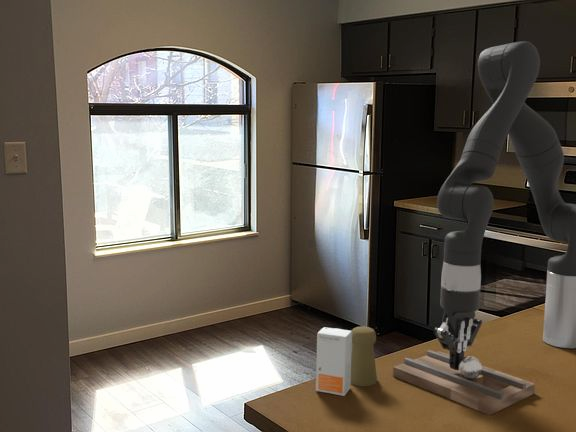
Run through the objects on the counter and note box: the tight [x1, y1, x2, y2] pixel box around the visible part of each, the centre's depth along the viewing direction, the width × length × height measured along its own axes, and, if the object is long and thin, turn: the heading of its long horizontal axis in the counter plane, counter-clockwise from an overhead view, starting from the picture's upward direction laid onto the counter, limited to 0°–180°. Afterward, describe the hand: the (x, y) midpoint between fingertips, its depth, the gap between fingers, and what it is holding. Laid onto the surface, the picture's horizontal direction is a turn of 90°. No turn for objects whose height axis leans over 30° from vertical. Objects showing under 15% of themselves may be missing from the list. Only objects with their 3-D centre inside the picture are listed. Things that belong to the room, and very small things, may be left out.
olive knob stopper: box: [351, 325, 378, 387], centre depth 132 cm, size 6×6×11 cm
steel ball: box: [459, 355, 483, 379], centre depth 129 cm, size 4×4×4 cm
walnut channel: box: [392, 349, 536, 416], centre depth 131 cm, size 15×23×3 cm, turn 39°
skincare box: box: [315, 326, 353, 397], centre depth 127 cm, size 6×4×12 cm
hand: (456, 368), depth 131 cm, fingers closed
